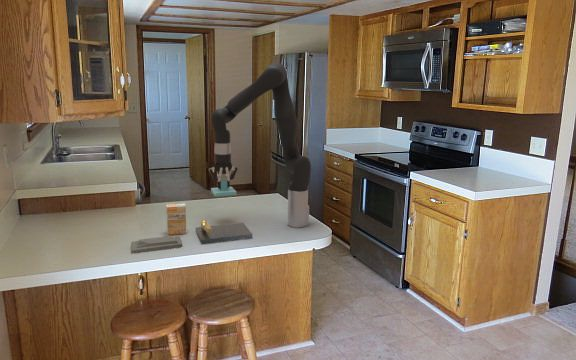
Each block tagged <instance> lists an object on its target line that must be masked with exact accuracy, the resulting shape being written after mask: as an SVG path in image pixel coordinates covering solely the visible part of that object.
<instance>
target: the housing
mask: <svg viewBox="0 0 576 360" xmlns="http://www.w3.org/2000/svg"><path fill="white" fill-rule="evenodd" d="M209 226H210V227H211V228H212V233H207V232H206V231H202V230H201V226H196V227H195V233H196V235H197V238H198V239H199V242H200V244H201V245H207V244H217V242H218V243H224V242H225V243H228V242H234V241H242V240H243V241H244V240H250V239H253V233H252V231H251V230H250V229H249V228H248V227H247V225H246V224H245V223H244V222H236V223H226V224H219V225H218V224H217V225H216V224H215V225H209Z"/></svg>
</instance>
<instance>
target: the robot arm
mask: <svg viewBox="0 0 576 360" xmlns="http://www.w3.org/2000/svg"><path fill="white" fill-rule="evenodd" d="M288 79H289V78H288V72H287V69H286V68H285V66H284V65H283V64H281V63H280V62H277V61H276V62H272V63H270V64H269V65H268V66H266V68H264V70H263V72H262V73H261V74H260V75H259V76H258V77H257V79H256V80H255V81H254V82H252V83H251V84H250V85H249V86H247V87H245V88H243V90H241V91H239V92H238V93H237V94H235V95H234V96H233V97H232V98H231V99H230V100H228V102H227V104H226V105H225V106H223V107H222V108H218V109H217V108H216V109H215V110H213V112H212V113H211V125H212V130H213V132H214V149H213V150H214V151H213V152H214V165H213V167H209V168H208V172H209V174H210V175H211V177H212V180H213V181H215V182H216V188H219V189H221V182H220V180H221V179H222V175H225V179H227V189H228V187H231V186H230V185H231V184H230V183H231V180H234V179H235V176H236V174H237V171H238V167H237V166H234V165H233V164H232V147H231V132H230V130H228V129H227V124H228V123H230V122H232V120H234V119H235V118H236V117H237V116H238V114H240V113H241V112H243V111H244V110H245V109H246V108H248V107H249V106H250V105H251V104H253V103H254V102H255V101H256V100H257V99H258V98H260V97H261V96H262V95H264V94H266V93H267V92H269V91H272V94H273V104H274V105H273V110H274V112H273V113H274V118H275V119H274V121H275V125H276V129H277V131H278V134H279V139H280V144H281V146H282V151H283V161H284V164H285V165H284V166H285V169H286V170H287V172H289V174H292V181H290V182H289V183H288V185H287V225H288V226H289V227H291V228H305V227H307V226H309V225H310V205H309V204H308V203H309V201H308V199H309V187H310V186H309V185H310V182H311V174H312V173H311V172H312V164H311V160H310V159H309V158H308V157H306V156H304V155H302V154H300V152H299V148H298V143H297V138H298V131H299V122H298V119H297V114H296V111H295V108H294V103H293V100H292V97H291V94H290V93H291V92H290V87H289V80H288ZM215 171H216V172H217V174H215ZM230 171H231V172H230ZM216 175H217V176H216Z"/></svg>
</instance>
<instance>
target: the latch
mask: <svg viewBox="0 0 576 360" xmlns="http://www.w3.org/2000/svg"><path fill="white" fill-rule="evenodd" d="M210 226H211V225H209V223H208V222H207V220H206V219H202V220H201V219H200V227H201V230H202V231H206V232H207V233H212V228H211V227H210Z"/></svg>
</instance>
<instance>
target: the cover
mask: <svg viewBox="0 0 576 360" xmlns="http://www.w3.org/2000/svg"><path fill="white" fill-rule="evenodd" d="M220 182H221V189H219V188H218V187H211V188H210V192H211V193H212V195H213V196H214V197H216V198H217V197H225V196H237V195H238V193H237V190H235V189H234V187H233V186H230V187H228V189H227V179H226V178H221V180H220Z"/></svg>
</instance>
